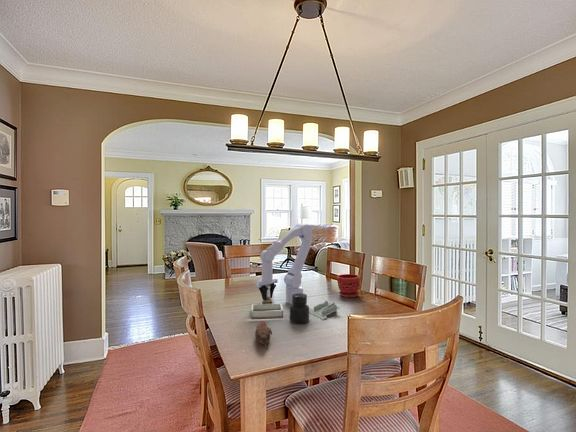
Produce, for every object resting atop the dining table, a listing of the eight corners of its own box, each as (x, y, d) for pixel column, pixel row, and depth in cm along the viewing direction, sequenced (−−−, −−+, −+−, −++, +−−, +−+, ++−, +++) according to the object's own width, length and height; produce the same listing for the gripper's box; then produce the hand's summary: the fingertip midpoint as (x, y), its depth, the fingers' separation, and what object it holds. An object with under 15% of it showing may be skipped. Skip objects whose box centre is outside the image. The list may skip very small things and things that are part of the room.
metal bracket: (325, 297, 166) (343, 304, 153) (328, 307, 167) (346, 315, 154) (303, 308, 160) (319, 317, 147) (305, 319, 161) (322, 328, 147)
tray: (281, 310, 162) (281, 303, 162) (283, 317, 150) (283, 310, 150) (251, 311, 161) (251, 304, 161) (251, 319, 149) (251, 311, 149)
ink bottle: (313, 320, 146) (313, 295, 146) (302, 326, 139) (301, 299, 139) (297, 316, 152) (297, 291, 152) (285, 321, 146) (285, 295, 145)
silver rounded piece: (267, 301, 171) (266, 283, 170) (273, 303, 168) (272, 285, 168) (261, 303, 167) (261, 285, 167) (267, 304, 164) (267, 286, 164)
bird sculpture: (269, 327, 138) (269, 316, 138) (274, 353, 113) (274, 339, 113) (254, 328, 137) (254, 316, 137) (256, 354, 112) (256, 340, 112)
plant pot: (352, 292, 198) (352, 272, 197) (363, 297, 185) (363, 277, 185) (333, 293, 193) (333, 274, 193) (344, 299, 181) (343, 278, 181)
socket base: (274, 304, 172) (274, 299, 172) (275, 309, 164) (275, 304, 164) (259, 305, 171) (259, 300, 171) (259, 309, 163) (259, 304, 163)
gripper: (270, 270, 175) (270, 294, 175) (251, 274, 164) (251, 300, 164) (280, 271, 171) (280, 296, 171) (261, 276, 160) (261, 302, 160)
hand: (267, 298), depth 167 cm, fingers closed on silver rounded piece, 4 cm apart
